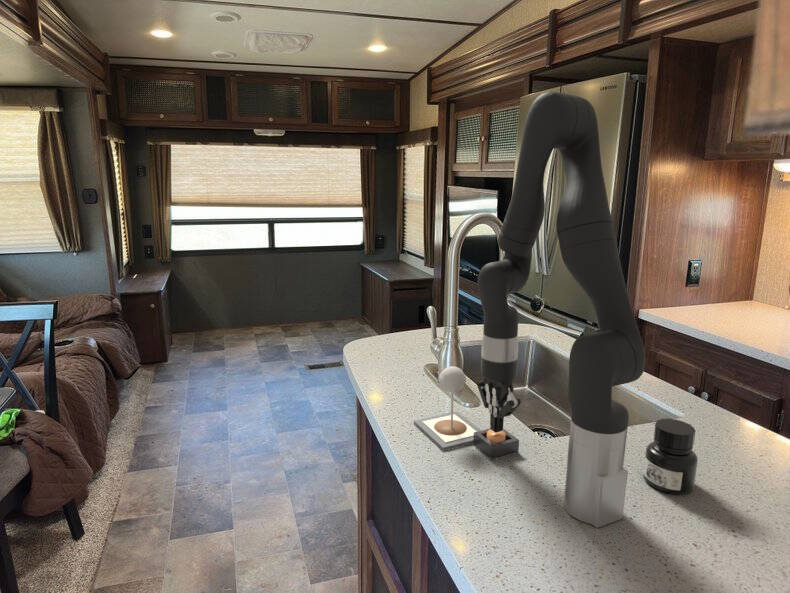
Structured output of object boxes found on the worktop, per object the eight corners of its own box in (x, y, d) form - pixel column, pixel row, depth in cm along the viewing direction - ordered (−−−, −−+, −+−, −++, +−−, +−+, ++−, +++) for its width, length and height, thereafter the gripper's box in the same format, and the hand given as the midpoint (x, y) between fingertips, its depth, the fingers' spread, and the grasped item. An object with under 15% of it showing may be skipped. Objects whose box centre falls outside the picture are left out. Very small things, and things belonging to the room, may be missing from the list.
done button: (508, 448, 116) (509, 435, 115) (493, 452, 114) (493, 439, 114) (497, 439, 120) (498, 427, 119) (482, 443, 118) (483, 431, 117)
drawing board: (488, 439, 121) (489, 435, 121) (442, 450, 116) (442, 446, 116) (456, 414, 134) (456, 410, 133) (413, 423, 129) (413, 419, 128)
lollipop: (443, 435, 121) (444, 373, 117) (434, 423, 126) (435, 364, 123) (469, 431, 122) (470, 370, 119) (459, 420, 128) (460, 361, 124)
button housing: (518, 452, 116) (519, 440, 115) (491, 459, 113) (492, 446, 112) (499, 438, 122) (499, 426, 121) (473, 444, 119) (473, 432, 118)
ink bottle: (631, 474, 107) (637, 419, 105) (664, 465, 111) (671, 412, 108) (671, 501, 99) (679, 442, 96) (706, 491, 102) (714, 434, 99)
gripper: (534, 361, 108) (529, 440, 112) (495, 343, 119) (492, 415, 123) (503, 367, 105) (500, 448, 109) (467, 348, 116) (465, 421, 120)
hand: (496, 430), depth 116 cm, fingers closed
